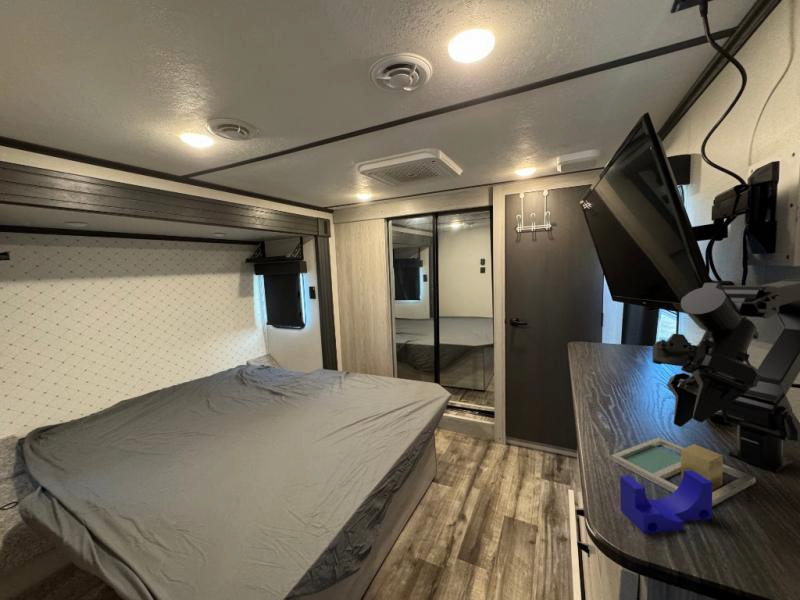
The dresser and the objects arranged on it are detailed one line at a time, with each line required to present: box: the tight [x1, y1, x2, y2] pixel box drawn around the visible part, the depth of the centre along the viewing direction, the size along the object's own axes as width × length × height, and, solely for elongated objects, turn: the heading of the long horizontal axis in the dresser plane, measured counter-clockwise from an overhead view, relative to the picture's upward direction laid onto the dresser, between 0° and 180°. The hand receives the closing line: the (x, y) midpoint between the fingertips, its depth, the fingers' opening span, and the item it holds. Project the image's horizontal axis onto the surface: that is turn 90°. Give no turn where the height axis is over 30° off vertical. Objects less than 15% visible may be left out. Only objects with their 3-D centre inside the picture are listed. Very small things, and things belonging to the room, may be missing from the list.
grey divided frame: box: [610, 437, 756, 507], centre depth 58 cm, size 15×15×1 cm
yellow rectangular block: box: [680, 443, 724, 491], centre depth 55 cm, size 4×4×6 cm
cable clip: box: [619, 470, 713, 534], centre depth 47 cm, size 12×4×6 cm, turn 92°
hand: (686, 423), depth 52 cm, fingers open, 9 cm apart
